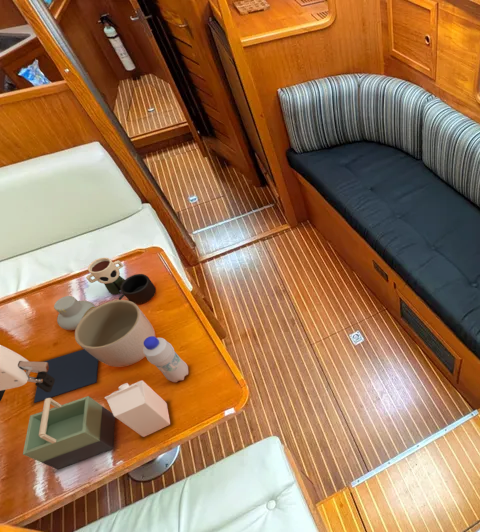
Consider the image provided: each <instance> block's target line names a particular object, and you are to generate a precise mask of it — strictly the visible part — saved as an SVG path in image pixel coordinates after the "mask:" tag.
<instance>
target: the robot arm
mask: <svg viewBox="0 0 480 532" xmlns="http://www.w3.org/2000/svg"><path fill="white" fill-rule="evenodd" d="M48 370H49V366H48V363H47V362H44V361H29V359H27V358H26V357H24V356H22V355H21V354H19V353H17V352H16V351H14V350H12V349H10V348H8V347H6V346H4V345H1V344H0V402H2V399H3V397H4V395H5V393H6V390H11V389H15V388H19V387H22V386H24V385H26V384H27V383H34V384H35V386H36V388H37V387H39V388H41V389H42V390H44V391H45V392H51V390H52V387H53V385H54V382H55V379H54V378H53V377H51V376H50V375H48V374H47V372H48ZM31 373H36V377H35V376H30V375H31Z"/></svg>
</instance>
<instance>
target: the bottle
mask: <svg viewBox="0 0 480 532" xmlns="http://www.w3.org/2000/svg"><path fill="white" fill-rule="evenodd" d="M143 352H144V354H145V358H146V359H147V361H148V362H149V363H150V364H151V365H154V366H155V367H156V368H157V369H158V370H159V371H160V372H161V373H162V374H163V377H165V379H166V380H167V381H170V382H172V383H178V382H179V381H184V380H185V377H186V376H188V375H189V365H188V364H187V363H186V362H185V361H184V360H183V359H182V358H181V357H180V355H178V353H177V352H176V351H175V348H174V347H173V345H172V343H170V342H169V341H168V340H167V339H165V338H163V337H156V336H155V337H154V336H150V337H148V338H146V339H145V340H144V349H143Z"/></svg>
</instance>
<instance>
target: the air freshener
mask: <svg viewBox="0 0 480 532" xmlns="http://www.w3.org/2000/svg"><path fill="white" fill-rule="evenodd" d="M96 307H97V306H96V305H95V303H93V302H91V301H88V300H78V299H77V298H76V297H75V296H73V295H65V296H62V297H61V298H59V299H57V300H56V302H55V303H54V305H53V309H54V310H55V311H56V312H57V313H58V315H57V318H56V323H57V325H58V326H59V327H60V328H61V329H63V330H67V331H75V330H76V327H77V325H78V323H79V322H80V321H81V319H82V318H83V317H84V316H85V315H86V314H87V313H88V312H90V311H91V310H92V309H94V308H96Z"/></svg>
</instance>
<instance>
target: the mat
mask: <svg viewBox="0 0 480 532" xmlns="http://www.w3.org/2000/svg"><path fill="white" fill-rule="evenodd" d="M43 362H47V363H48V366H49V370H48V372H47V374H48V375H50V376H51V377H53V378H54V379H55V382H54V385H53V387H52V390H51V392H45V391H44V390H42V389H41V388H39V387H37V386H36V389H35V393H34V400H33V403H34V404H36V403H39V402H44V401H45V399H46V398H51V399H53V398H54V397H58V396H61V395H64V394H67V393H70V392H73V391H76V390H79V389H81V388H85V387H87V386H91V385H94V384H97V383H98V372H99V362H100V361H99V360H98V359H96V358H95V357H94V356H92V355H91V354H90V353H89V352H87V351H86V350H85V349H83V348H82V349H79V350H76V351H74V352H71V353H67V354H63V355H60V356H57V357H54V358H50V359H47V360H43Z"/></svg>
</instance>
